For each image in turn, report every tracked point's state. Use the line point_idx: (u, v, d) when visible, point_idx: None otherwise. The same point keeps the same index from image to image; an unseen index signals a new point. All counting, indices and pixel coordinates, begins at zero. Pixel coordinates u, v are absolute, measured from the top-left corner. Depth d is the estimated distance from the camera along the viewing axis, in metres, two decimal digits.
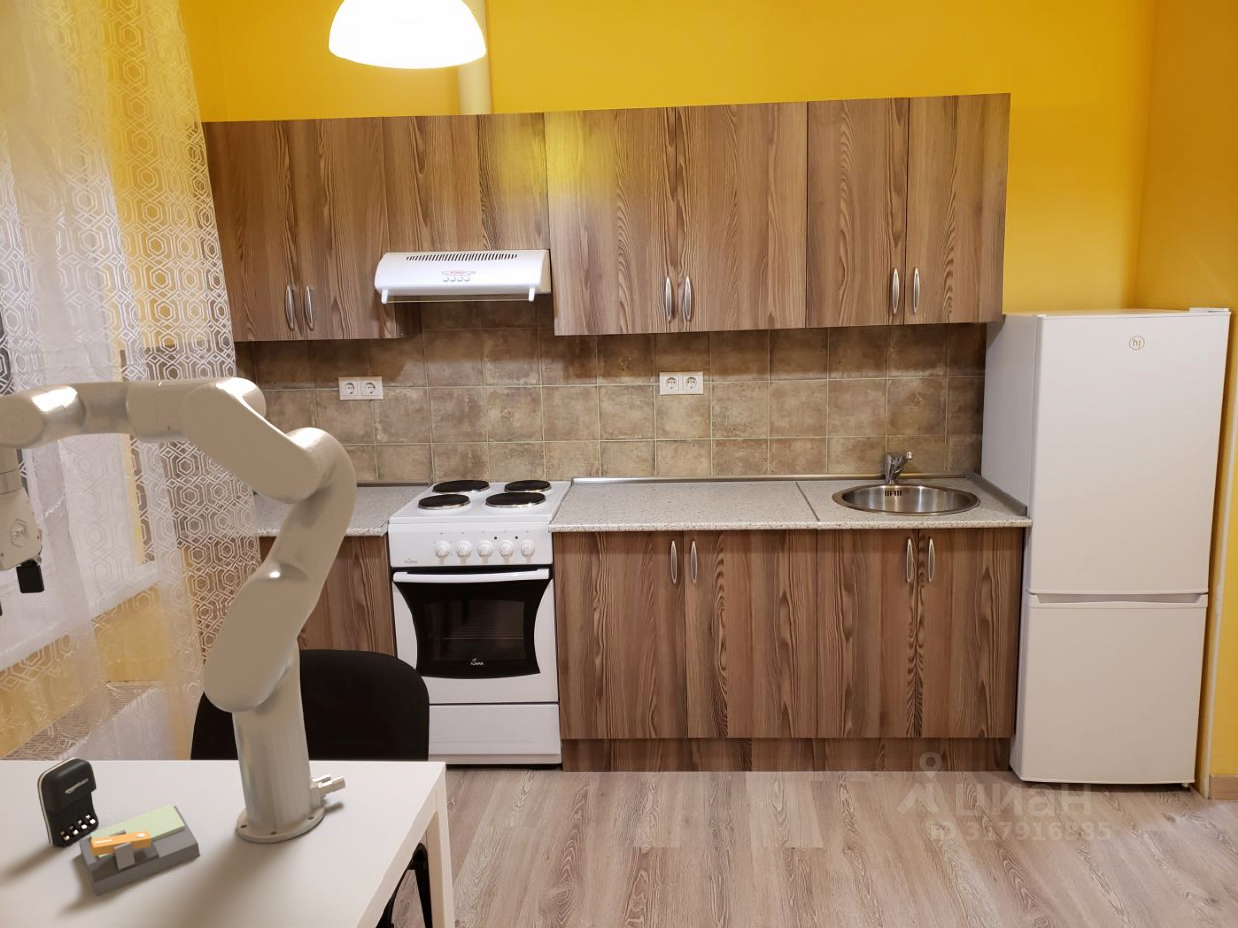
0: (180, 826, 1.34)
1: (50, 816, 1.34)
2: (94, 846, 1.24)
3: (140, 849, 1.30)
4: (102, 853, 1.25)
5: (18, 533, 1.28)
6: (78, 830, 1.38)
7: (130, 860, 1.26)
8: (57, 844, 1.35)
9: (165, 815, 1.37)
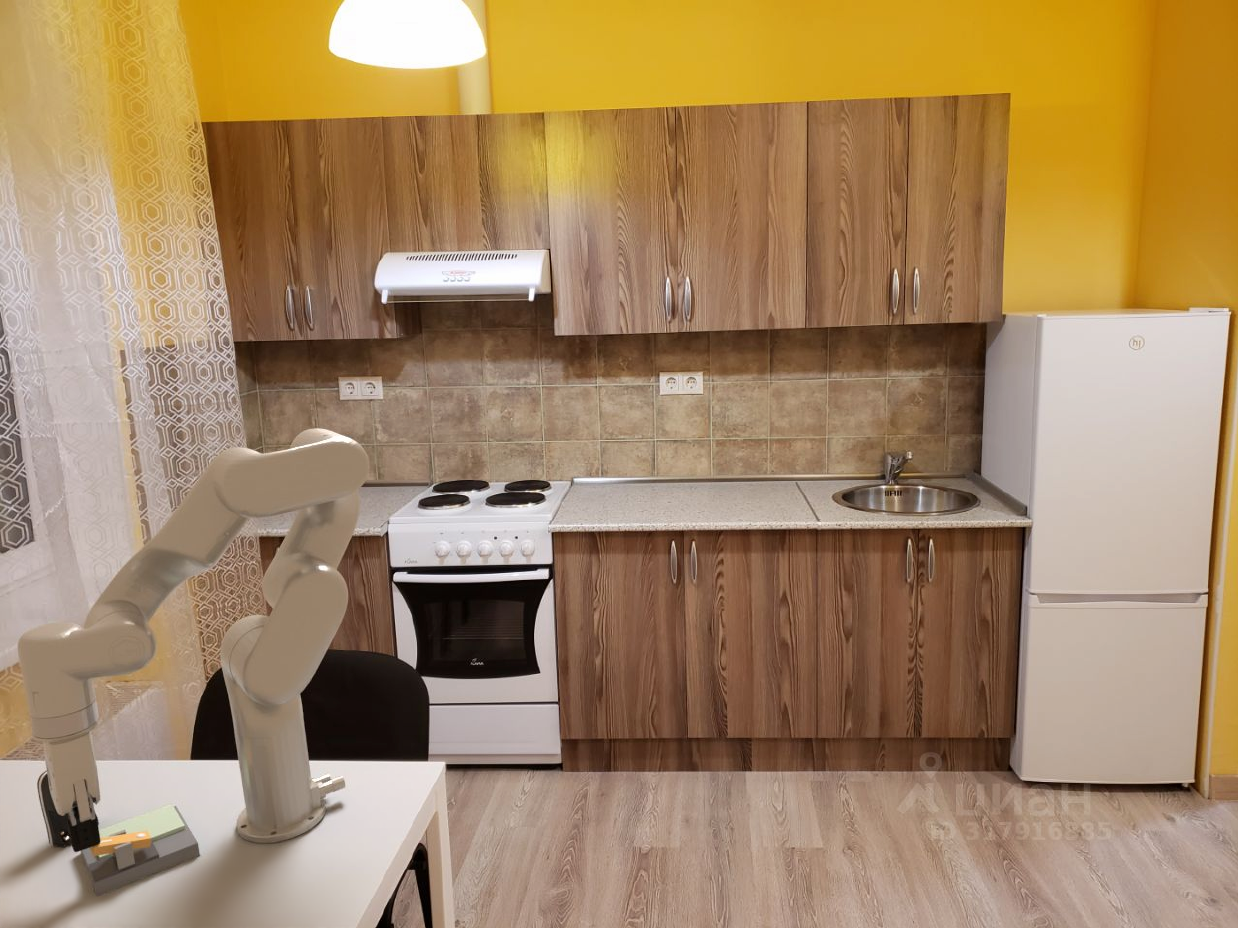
0: (180, 826, 1.34)
1: (50, 816, 1.34)
2: (94, 846, 1.24)
3: (140, 849, 1.30)
4: (102, 853, 1.25)
5: (48, 774, 1.21)
6: None
7: (130, 860, 1.26)
8: (57, 844, 1.35)
9: (165, 815, 1.37)
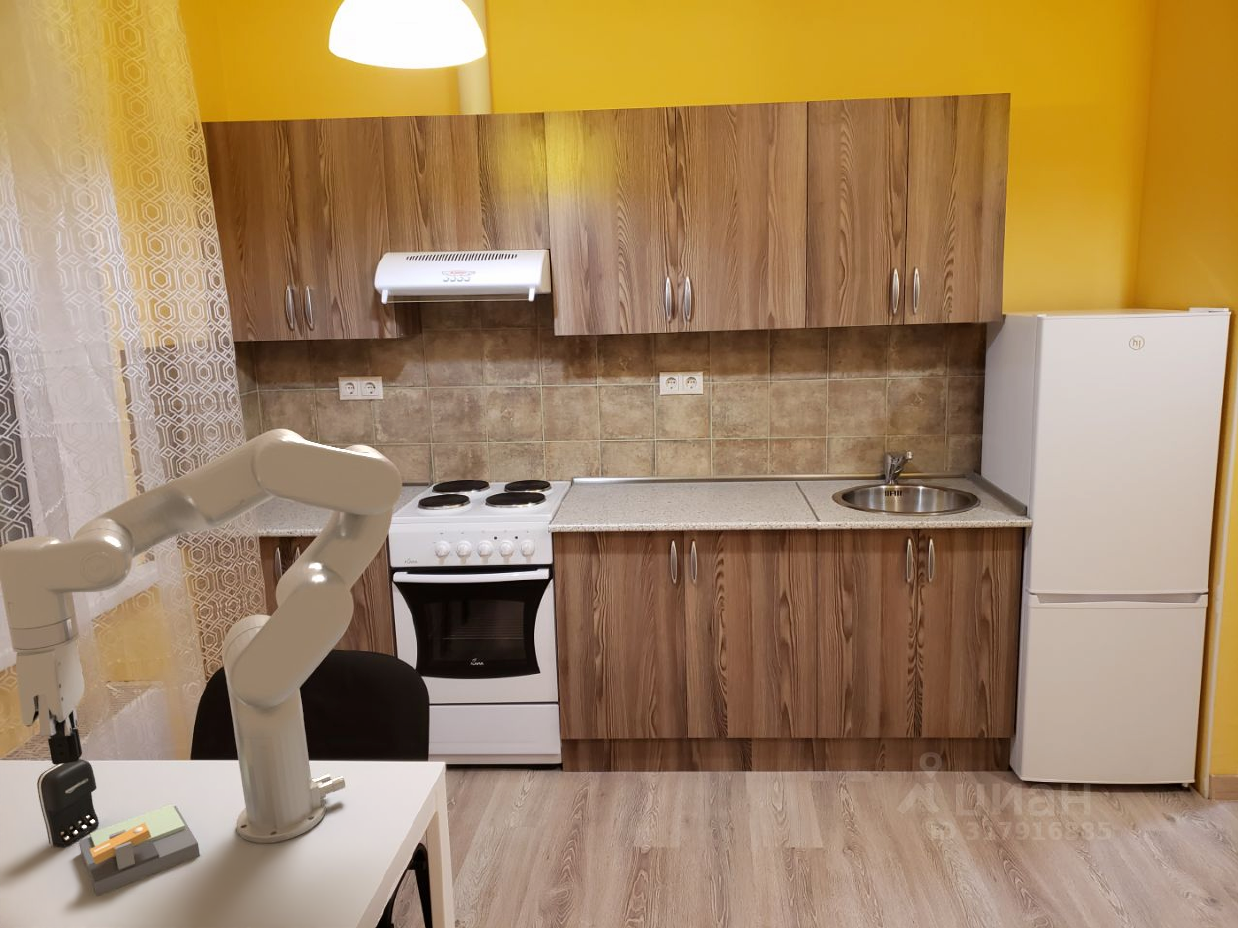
0: (180, 826, 1.34)
1: (50, 816, 1.34)
2: (93, 855, 1.24)
3: (140, 849, 1.30)
4: (105, 859, 1.25)
5: None
6: (78, 830, 1.38)
7: (130, 860, 1.26)
8: (57, 844, 1.35)
9: (165, 815, 1.37)
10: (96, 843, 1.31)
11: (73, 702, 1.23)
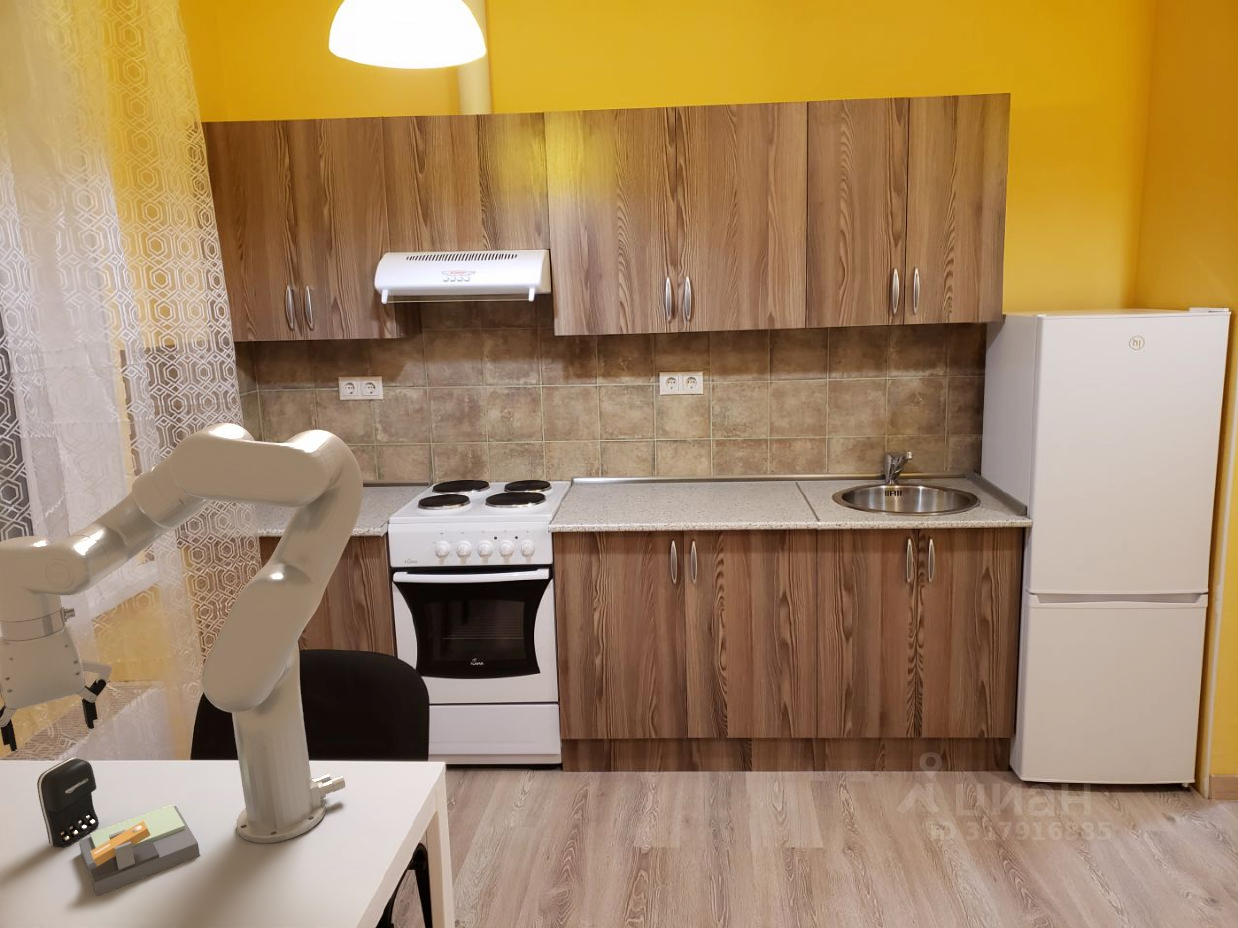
0: (180, 826, 1.34)
1: (50, 816, 1.34)
2: (94, 857, 1.24)
3: (140, 849, 1.30)
4: (106, 860, 1.25)
5: None
6: (78, 830, 1.38)
7: (130, 860, 1.26)
8: (57, 844, 1.35)
9: (165, 815, 1.37)
10: (96, 843, 1.31)
11: (40, 697, 1.31)
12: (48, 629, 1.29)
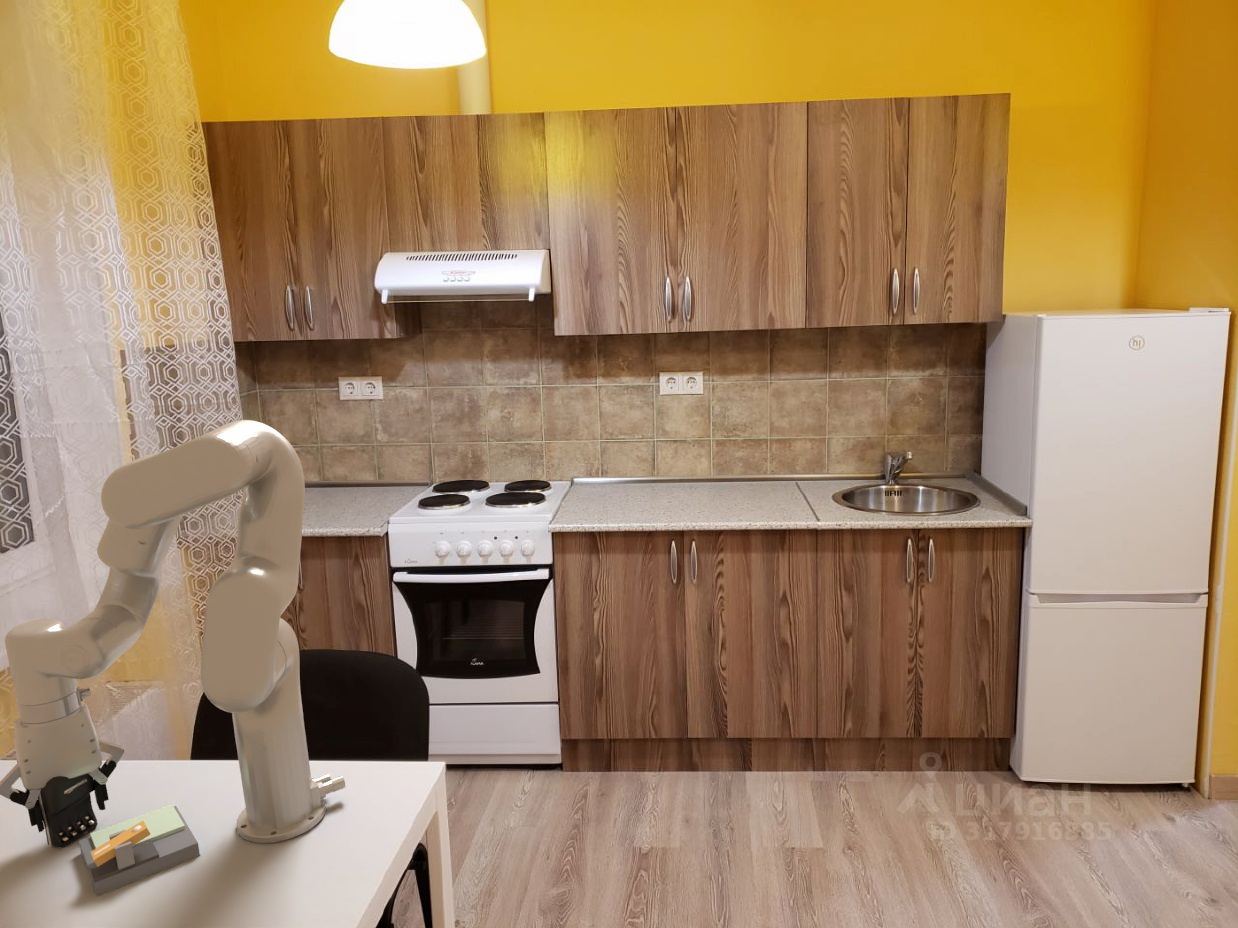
0: (180, 826, 1.34)
1: (49, 817, 1.34)
2: (94, 858, 1.24)
3: (140, 849, 1.30)
4: (106, 860, 1.25)
5: None
6: (77, 831, 1.37)
7: (130, 860, 1.26)
8: (56, 845, 1.35)
9: (165, 815, 1.37)
10: (96, 843, 1.31)
11: None
12: (65, 711, 1.32)
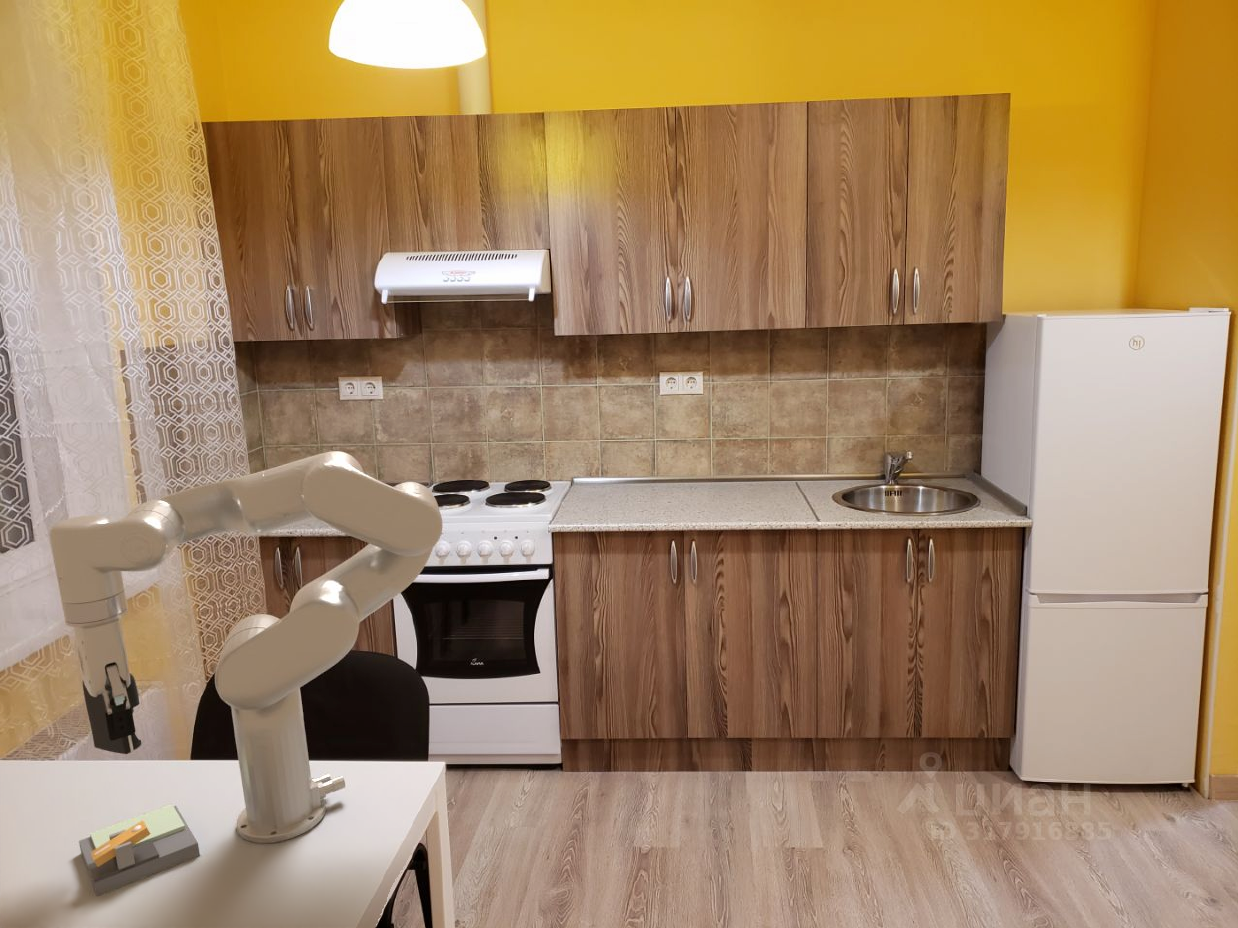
0: (180, 826, 1.34)
1: None
2: (94, 858, 1.24)
3: (140, 849, 1.30)
4: (106, 860, 1.25)
5: (80, 660, 1.27)
6: None
7: (130, 860, 1.26)
8: (138, 745, 1.30)
9: (165, 815, 1.37)
10: (96, 843, 1.31)
11: None
12: None
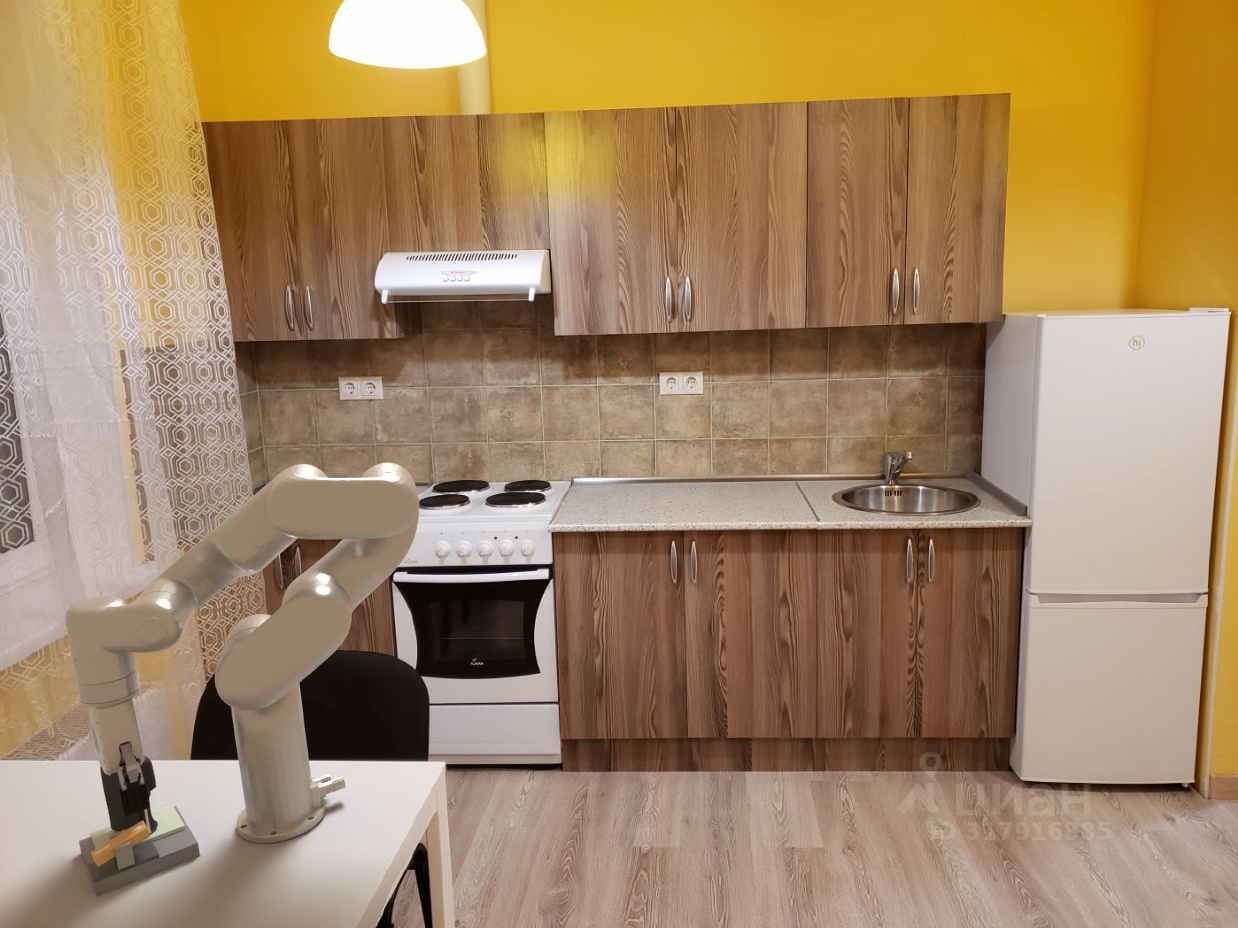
0: (180, 826, 1.34)
1: None
2: (94, 858, 1.24)
3: (140, 849, 1.30)
4: (106, 860, 1.25)
5: (94, 737, 1.29)
6: None
7: (130, 860, 1.26)
8: (154, 827, 1.33)
9: (165, 815, 1.37)
10: (96, 843, 1.31)
11: None
12: None
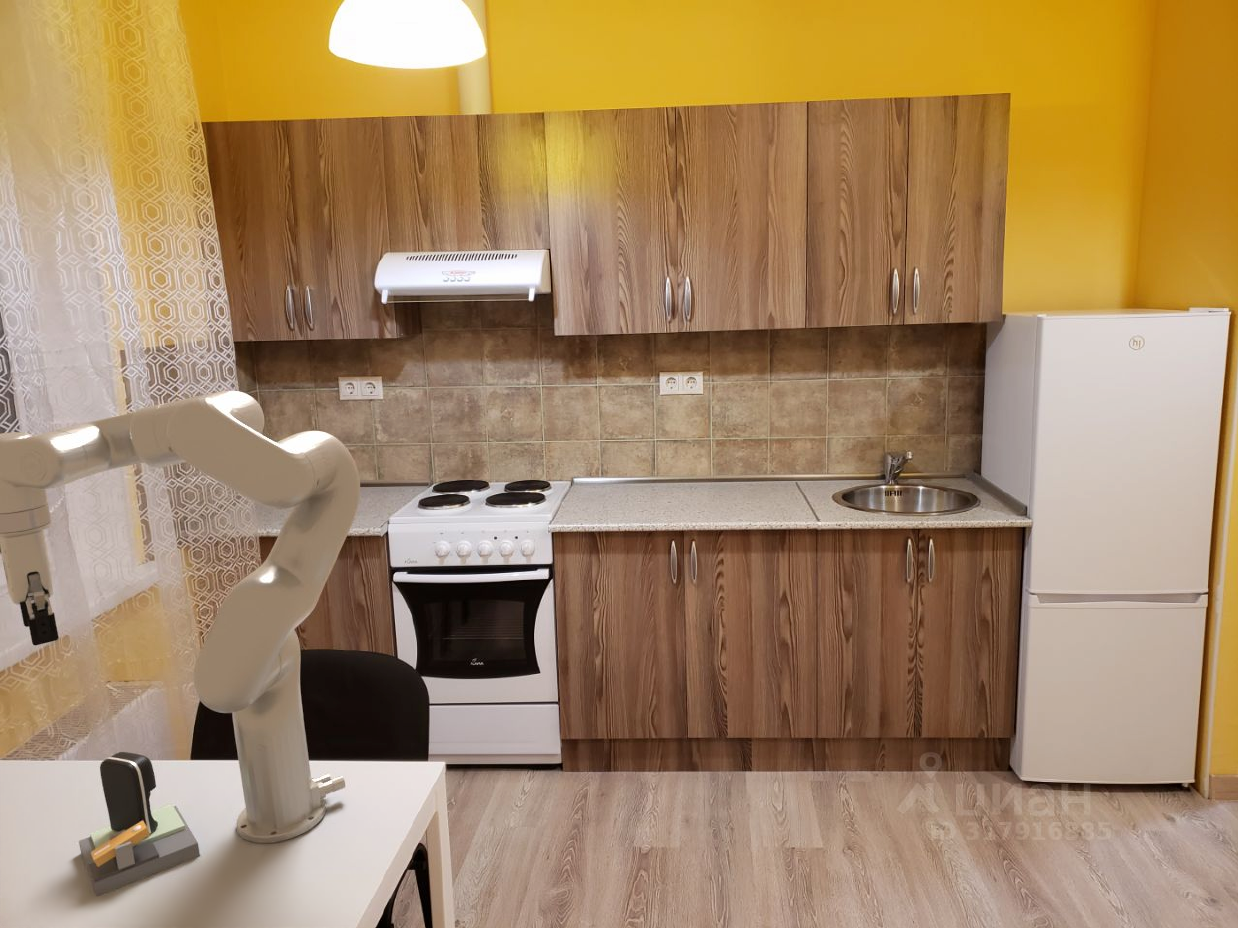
0: (180, 826, 1.34)
1: (148, 799, 1.32)
2: (94, 858, 1.24)
3: (140, 849, 1.30)
4: (106, 860, 1.25)
5: (5, 570, 1.32)
6: None
7: (130, 860, 1.26)
8: (154, 827, 1.33)
9: (165, 815, 1.37)
10: (96, 843, 1.31)
11: None
12: None
